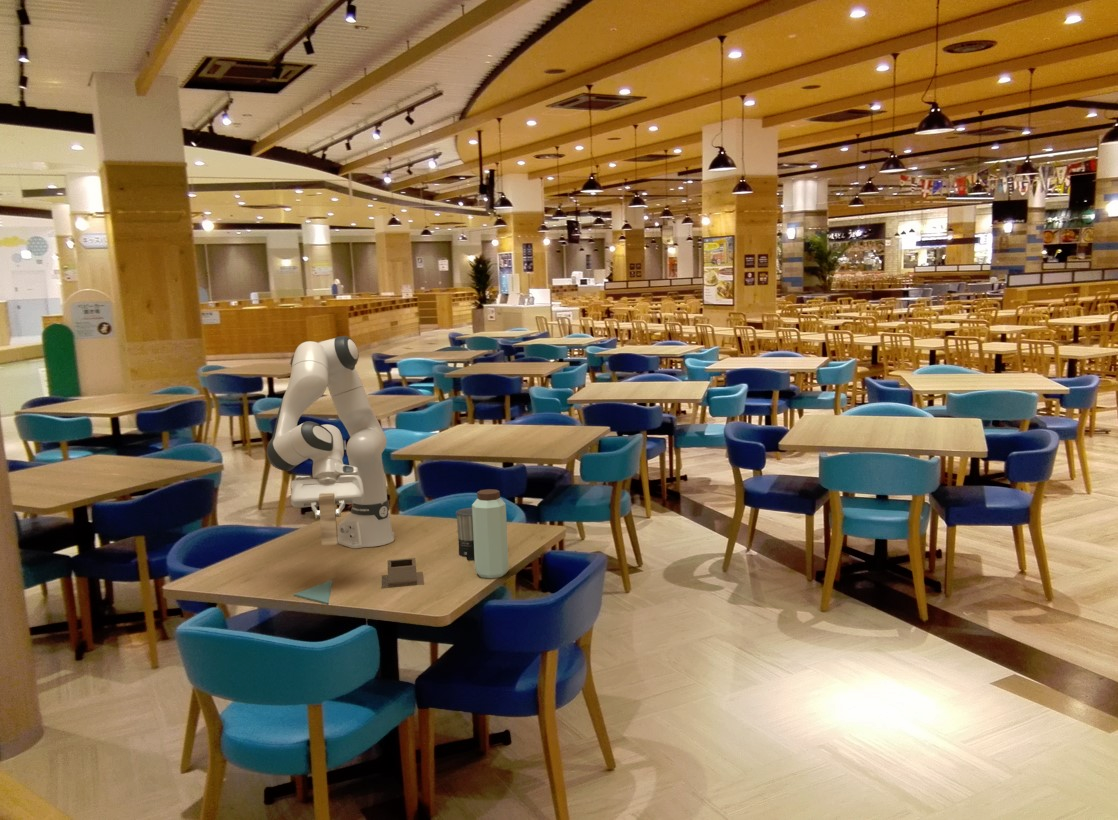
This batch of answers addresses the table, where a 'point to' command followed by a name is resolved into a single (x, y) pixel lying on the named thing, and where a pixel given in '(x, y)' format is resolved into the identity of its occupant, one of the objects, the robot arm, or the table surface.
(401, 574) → the tan hollow square block
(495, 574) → the water bottle
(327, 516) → the maple bar
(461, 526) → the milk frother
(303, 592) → the teal mat
